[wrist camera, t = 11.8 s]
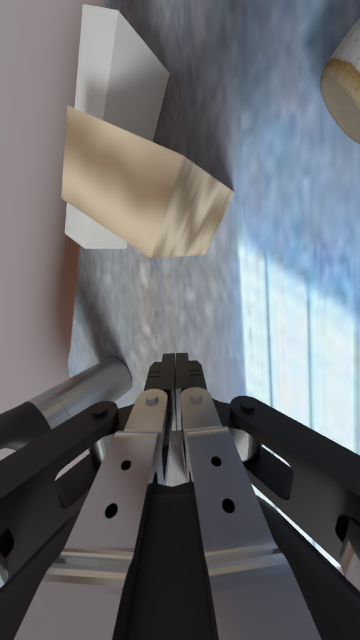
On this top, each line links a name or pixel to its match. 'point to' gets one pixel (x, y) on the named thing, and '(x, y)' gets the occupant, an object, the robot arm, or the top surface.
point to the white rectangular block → (114, 97)
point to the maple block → (140, 189)
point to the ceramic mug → (344, 83)
